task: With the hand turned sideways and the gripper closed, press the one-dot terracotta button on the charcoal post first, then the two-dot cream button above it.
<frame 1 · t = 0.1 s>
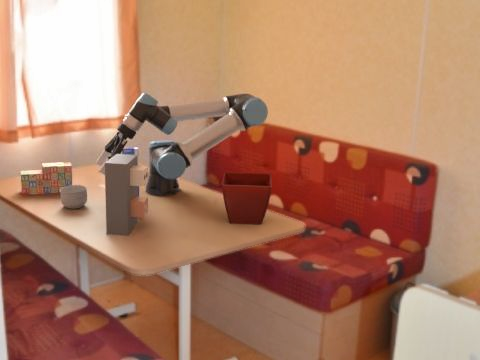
hand: (99, 168, 264), 15 cm above the table, tool tilted 35°, fingers open, 13 cm apart
plant pot: (245, 219, 257), on the table
beer can: (128, 212, 260), on the table
teacup: (75, 205, 266), on the table
stack of blocks: (47, 192, 283), on the table
button post: (122, 228, 242), on the table
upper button: (122, 228, 242), resting on button post, slide at 0.0 cm
walkman: (130, 171, 320), on the table
lower button: (122, 228, 242), resting on button post, slide at 0.0 cm
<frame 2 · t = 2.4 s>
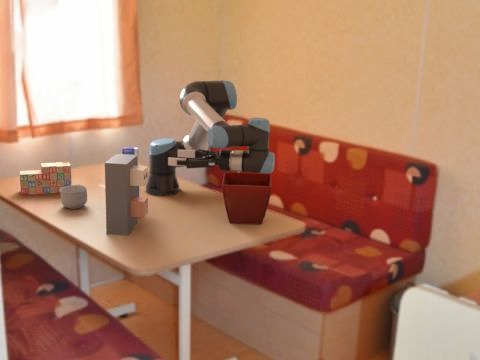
hand: (173, 157, 232), 29 cm above the table, tool horizontal, fingers open, 13 cm apart
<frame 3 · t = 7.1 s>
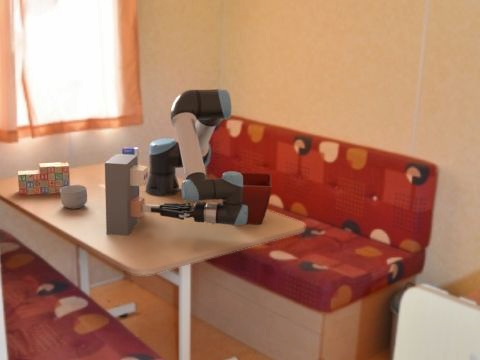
hand: (143, 207, 238), 9 cm above the table, tool horizontal, fingers closed
lower button: (119, 227, 242), resting on button post, slide at 1.3 cm, touching gripper
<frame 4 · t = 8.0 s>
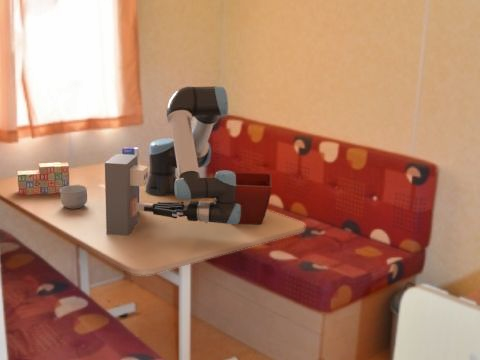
hand: (136, 206, 239), 9 cm above the table, tool horizontal, fingers closed
lower button: (112, 227, 243), resting on button post, slide at 3.9 cm, touching gripper
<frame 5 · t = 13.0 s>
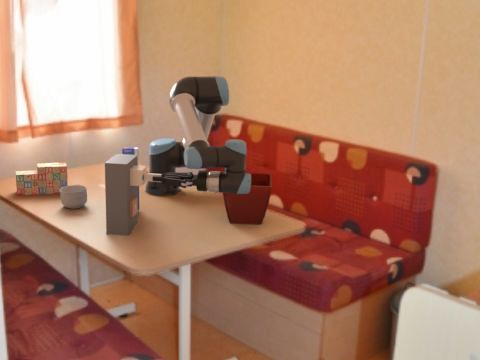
hand: (144, 176, 235), 21 cm above the table, tool horizontal, fingers closed
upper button: (121, 228, 242), resting on button post, slide at 0.6 cm, touching gripper
lower button: (112, 227, 243), resting on button post, slide at 4.0 cm
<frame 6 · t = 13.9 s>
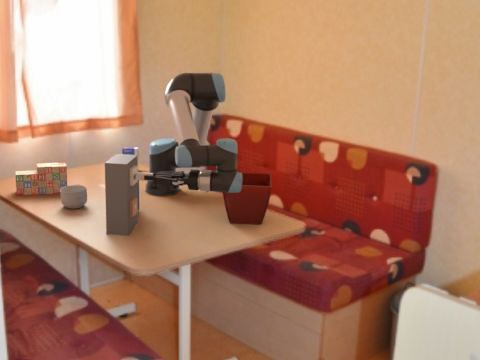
hand: (136, 175, 236), 21 cm above the table, tool horizontal, fingers closed
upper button: (112, 227, 242), resting on button post, slide at 3.8 cm, touching gripper
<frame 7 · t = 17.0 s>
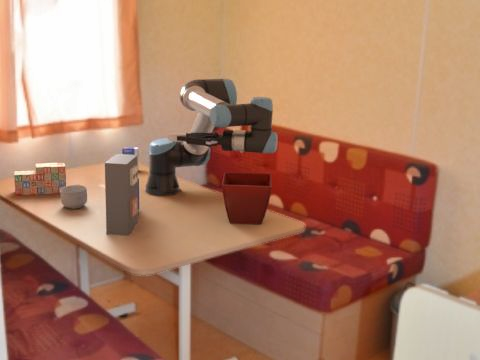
hand: (169, 136, 231), 36 cm above the table, tool horizontal, fingers closed
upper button: (112, 227, 243), resting on button post, slide at 4.0 cm
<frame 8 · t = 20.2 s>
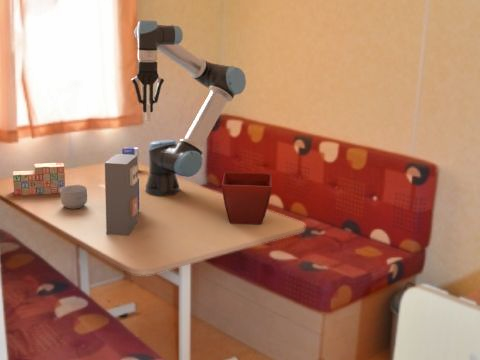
hand: (147, 120, 258), 36 cm above the table, tool pointing down, fingers closed
at the end: lower button slide at 4.0 cm; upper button slide at 4.0 cm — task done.
